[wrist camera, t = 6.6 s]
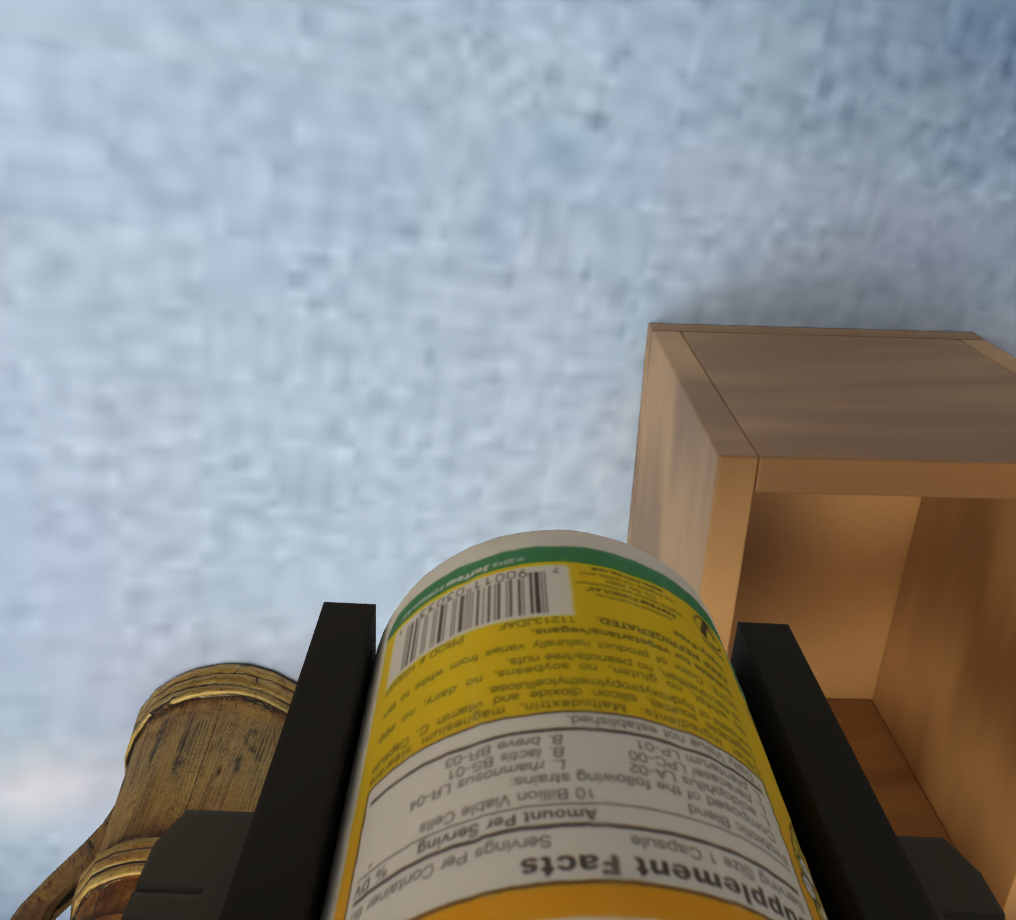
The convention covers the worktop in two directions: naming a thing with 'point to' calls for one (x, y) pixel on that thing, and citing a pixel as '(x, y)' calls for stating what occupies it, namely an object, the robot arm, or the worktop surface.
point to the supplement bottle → (560, 752)
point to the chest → (857, 543)
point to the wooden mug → (172, 781)
